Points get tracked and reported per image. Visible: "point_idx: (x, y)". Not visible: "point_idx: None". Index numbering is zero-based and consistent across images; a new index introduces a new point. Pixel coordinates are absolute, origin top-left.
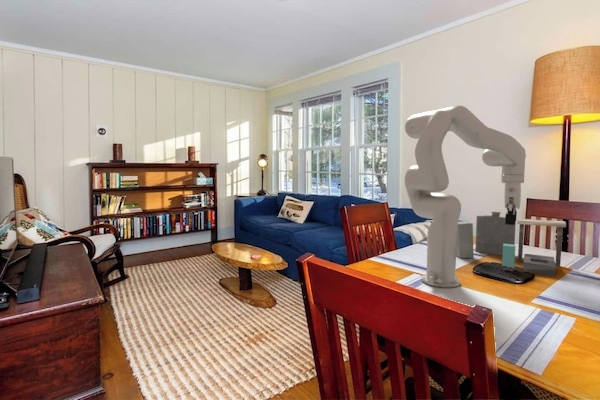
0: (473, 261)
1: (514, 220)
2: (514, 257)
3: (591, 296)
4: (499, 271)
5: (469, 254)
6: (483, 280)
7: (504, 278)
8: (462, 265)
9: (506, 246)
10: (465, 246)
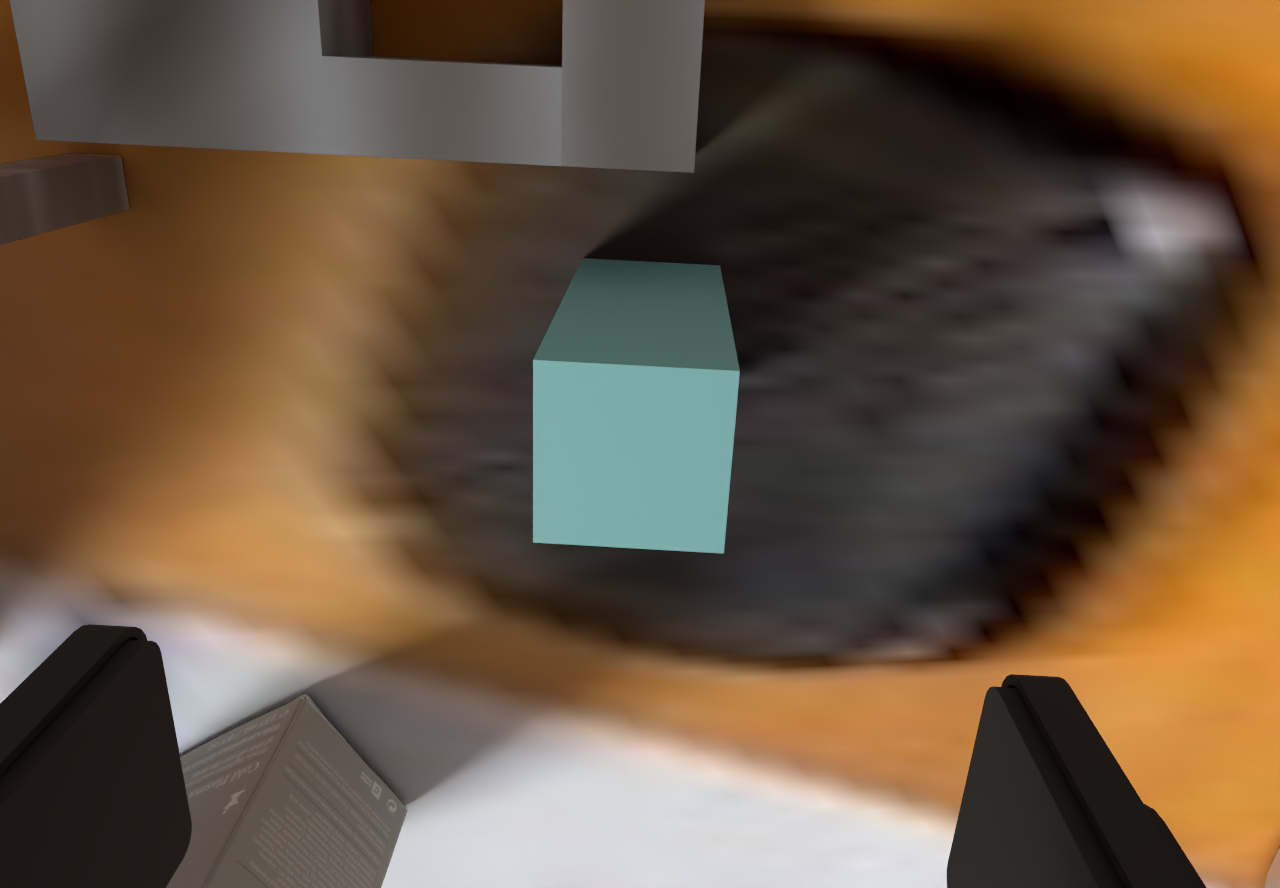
0: (463, 680)
1: (1116, 797)
2: (716, 313)
3: None
4: (785, 418)
5: (328, 759)
6: (1251, 558)
7: (1084, 365)
8: (716, 762)
9: (725, 496)
10: (322, 880)
